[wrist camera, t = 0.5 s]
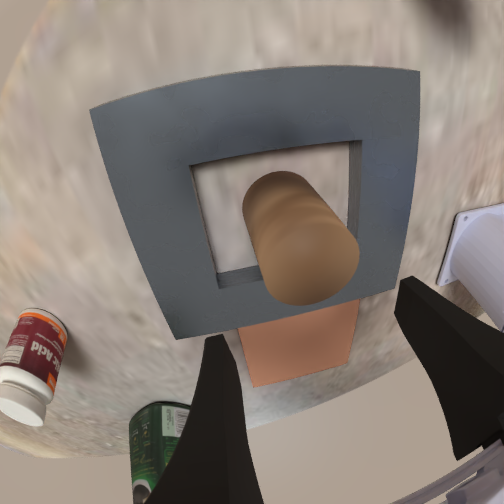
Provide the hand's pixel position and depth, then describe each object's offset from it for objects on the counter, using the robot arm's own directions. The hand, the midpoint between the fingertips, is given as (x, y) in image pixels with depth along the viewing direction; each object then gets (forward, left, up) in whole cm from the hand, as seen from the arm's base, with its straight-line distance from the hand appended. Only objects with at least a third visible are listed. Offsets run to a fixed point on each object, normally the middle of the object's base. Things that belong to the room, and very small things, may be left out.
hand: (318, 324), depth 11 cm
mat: (-2, +13, -8) cm, 16 cm away
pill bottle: (+19, +5, -9) cm, 22 cm away
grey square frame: (-1, -1, -8) cm, 8 cm away
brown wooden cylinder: (-1, -1, -9) cm, 9 cm away
